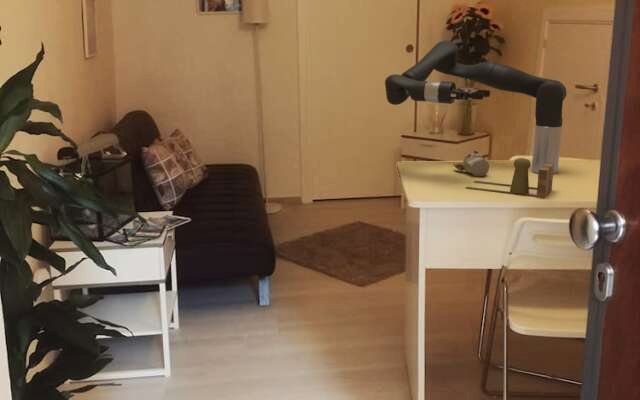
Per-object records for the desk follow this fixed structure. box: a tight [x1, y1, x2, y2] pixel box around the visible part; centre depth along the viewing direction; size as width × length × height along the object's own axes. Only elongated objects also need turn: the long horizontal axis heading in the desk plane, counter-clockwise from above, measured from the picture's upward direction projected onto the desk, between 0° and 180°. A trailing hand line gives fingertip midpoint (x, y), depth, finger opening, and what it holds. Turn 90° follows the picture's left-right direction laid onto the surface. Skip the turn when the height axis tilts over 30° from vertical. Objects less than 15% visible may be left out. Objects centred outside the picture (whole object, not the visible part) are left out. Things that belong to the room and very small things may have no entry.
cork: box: [509, 157, 531, 194], centre depth 231 cm, size 6×6×11 cm
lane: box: [465, 163, 554, 199], centre depth 235 cm, size 12×26×9 cm, turn 62°
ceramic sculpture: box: [453, 150, 491, 177], centre depth 258 cm, size 11×9×15 cm
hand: (486, 94), depth 239 cm, fingers open, 8 cm apart
